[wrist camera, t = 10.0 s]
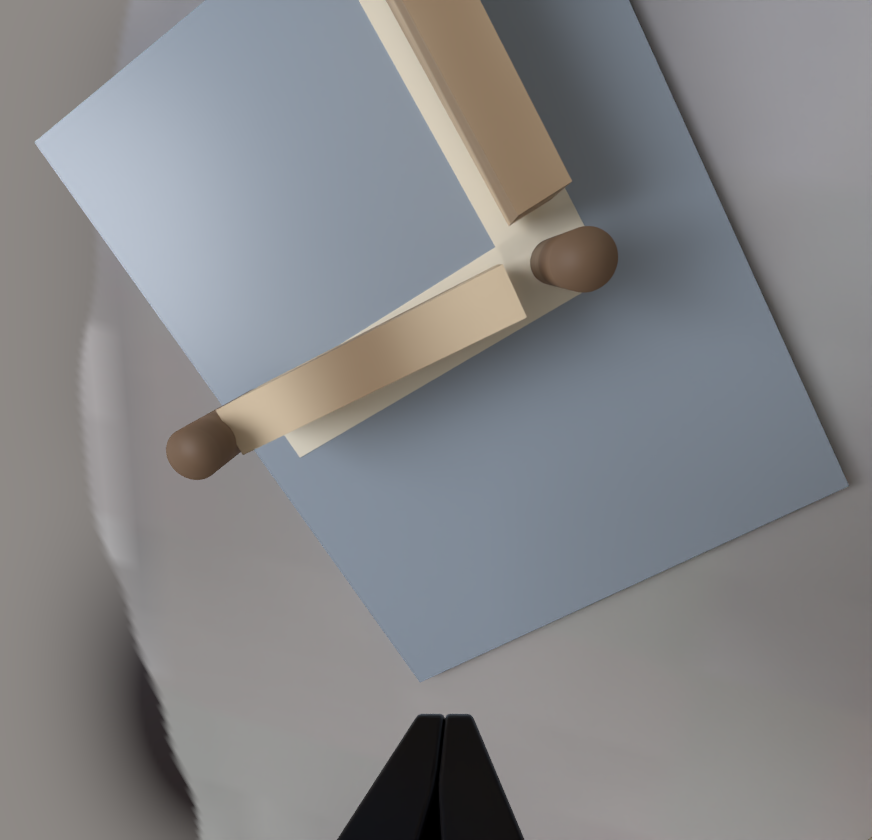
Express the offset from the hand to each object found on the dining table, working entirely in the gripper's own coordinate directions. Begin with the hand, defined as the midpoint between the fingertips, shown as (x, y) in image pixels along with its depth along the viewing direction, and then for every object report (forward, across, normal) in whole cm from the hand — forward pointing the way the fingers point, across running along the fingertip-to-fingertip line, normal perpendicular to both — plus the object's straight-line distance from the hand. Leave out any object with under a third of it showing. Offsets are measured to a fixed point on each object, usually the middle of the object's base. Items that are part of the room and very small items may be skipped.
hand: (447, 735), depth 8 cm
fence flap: (+10, +3, -4) cm, 12 cm away
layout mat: (+12, 0, -5) cm, 13 cm away
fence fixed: (+12, -1, -11) cm, 16 cm away
